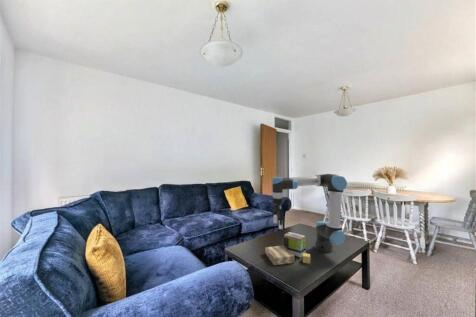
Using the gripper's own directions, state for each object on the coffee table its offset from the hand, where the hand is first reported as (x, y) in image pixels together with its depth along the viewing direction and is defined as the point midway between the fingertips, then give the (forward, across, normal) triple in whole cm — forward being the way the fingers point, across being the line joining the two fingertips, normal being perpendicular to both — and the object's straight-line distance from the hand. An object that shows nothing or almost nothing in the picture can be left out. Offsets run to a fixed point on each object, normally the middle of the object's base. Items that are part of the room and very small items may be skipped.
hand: (277, 225), depth 155 cm
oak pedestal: (+27, -6, +2) cm, 28 cm away
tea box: (+27, -13, +18) cm, 35 cm away
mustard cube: (+27, +2, +21) cm, 34 cm away
